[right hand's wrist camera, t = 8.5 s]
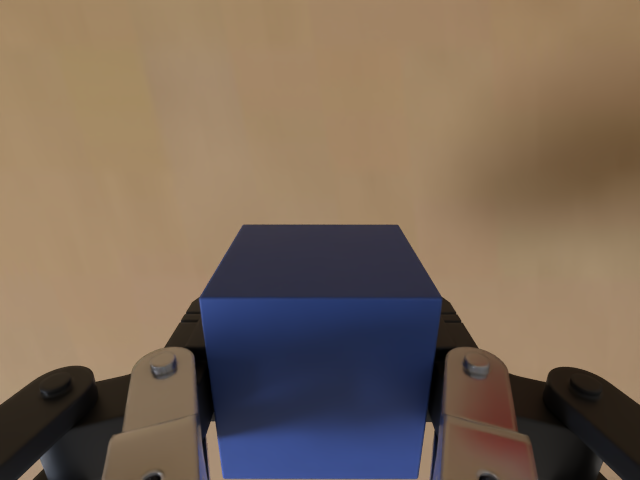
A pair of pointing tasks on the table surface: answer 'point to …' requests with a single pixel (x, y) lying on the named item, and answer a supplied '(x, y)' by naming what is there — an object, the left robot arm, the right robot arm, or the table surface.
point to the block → (320, 352)
